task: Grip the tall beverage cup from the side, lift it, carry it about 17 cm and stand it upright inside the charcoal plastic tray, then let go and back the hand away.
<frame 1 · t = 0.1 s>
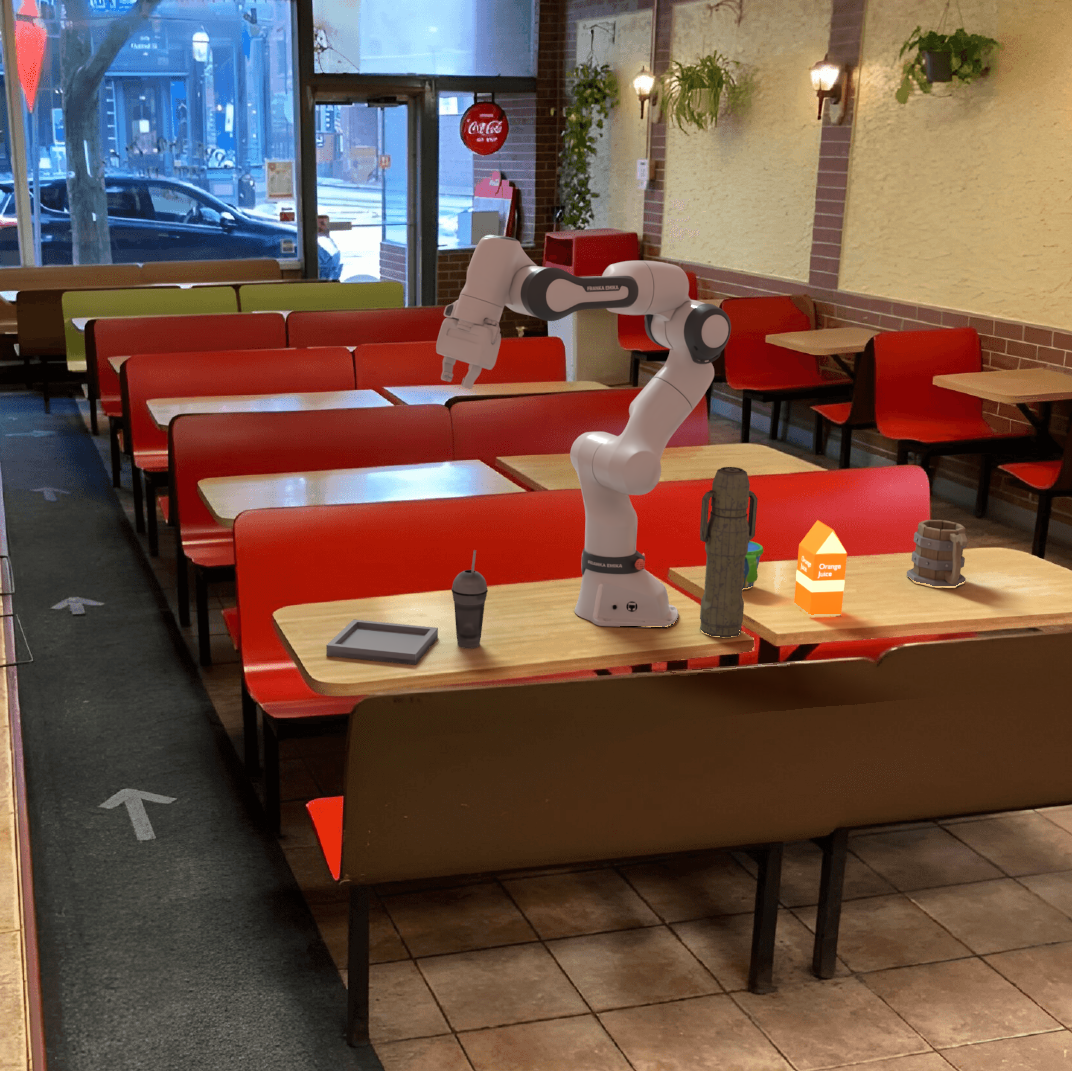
hand: (455, 384, 259), 52 cm above the table, tool tilted 20°, fingers open, 8 cm apart
beverage cup: (468, 645, 268), on the table
thermos: (720, 632, 281), on the table
orange juice: (817, 612, 296), on the table
snack cup: (736, 587, 312), on the table
tray: (383, 646, 265), on the table
tankard: (940, 586, 318), on the table
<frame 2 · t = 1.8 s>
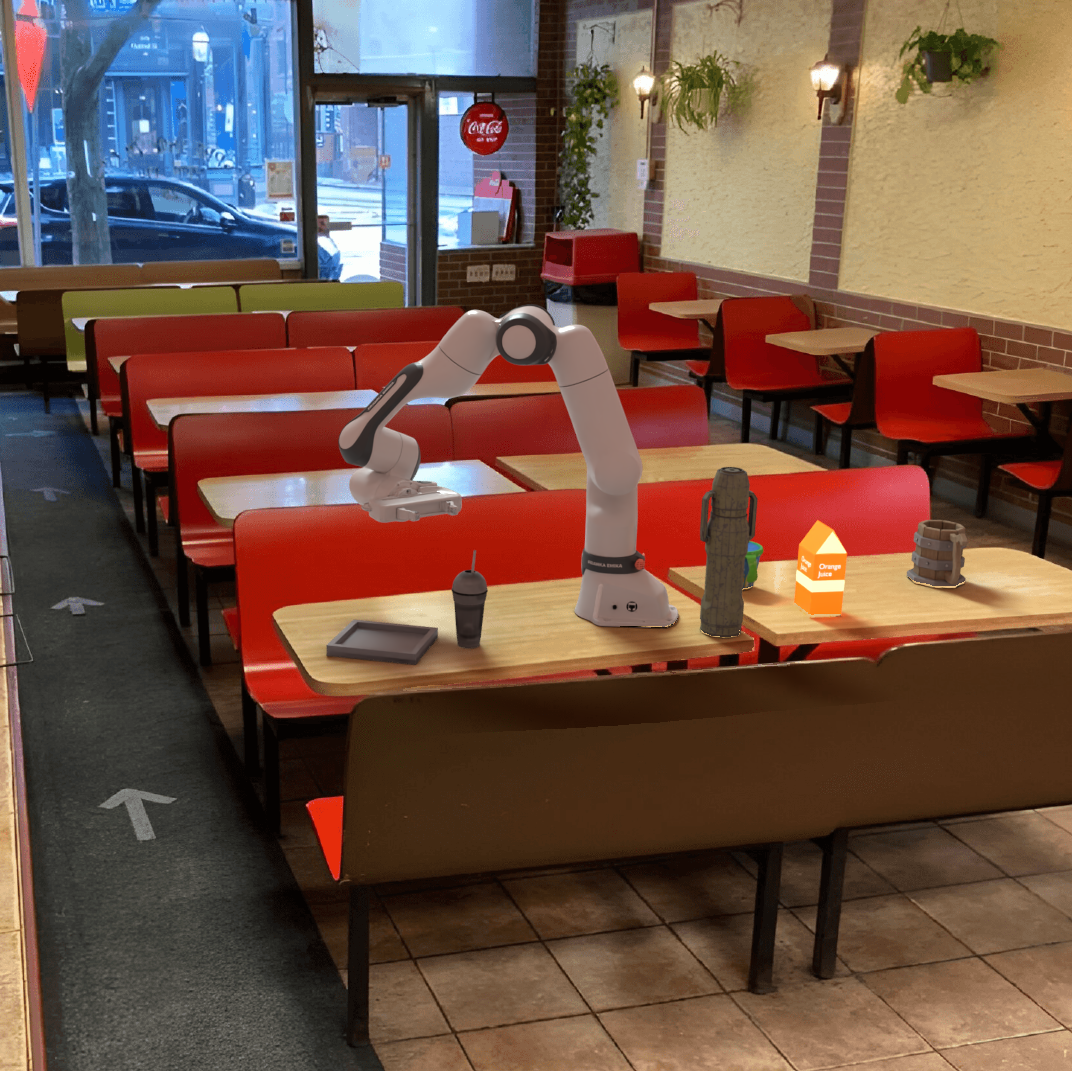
hand: (436, 514, 271), 24 cm above the table, tool horizontal, fingers open, 8 cm apart
nothing on the table moved.
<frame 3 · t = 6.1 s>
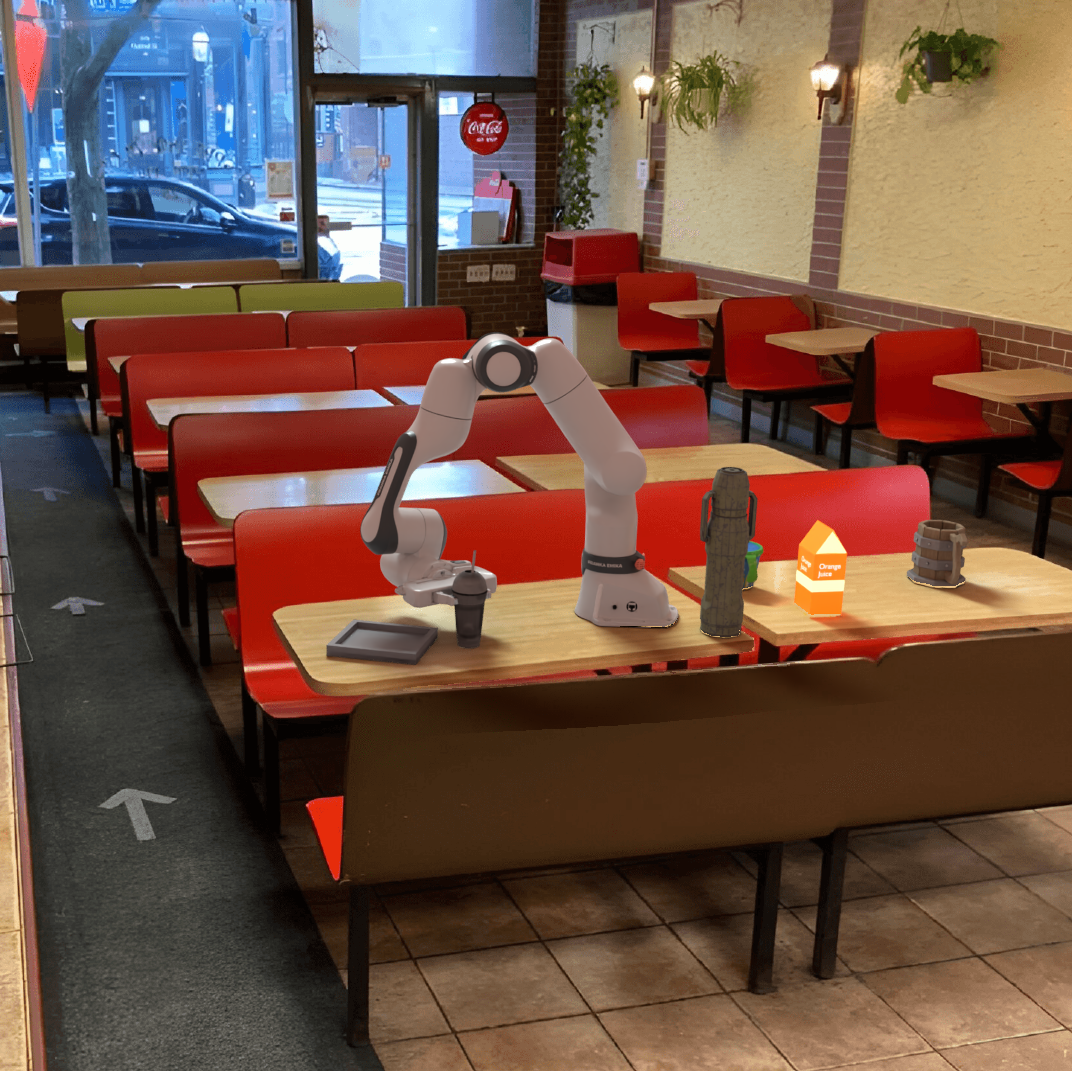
hand: (472, 598, 265), 10 cm above the table, tool horizontal, fingers closed on beverage cup, 7 cm apart
beverage cup: (468, 645, 268), on the table, touching gripper
everything else where it was.
when the fingers open (12 cm above the table, at t = 12.4 s): beverage cup drops 1 cm, resting on tray.
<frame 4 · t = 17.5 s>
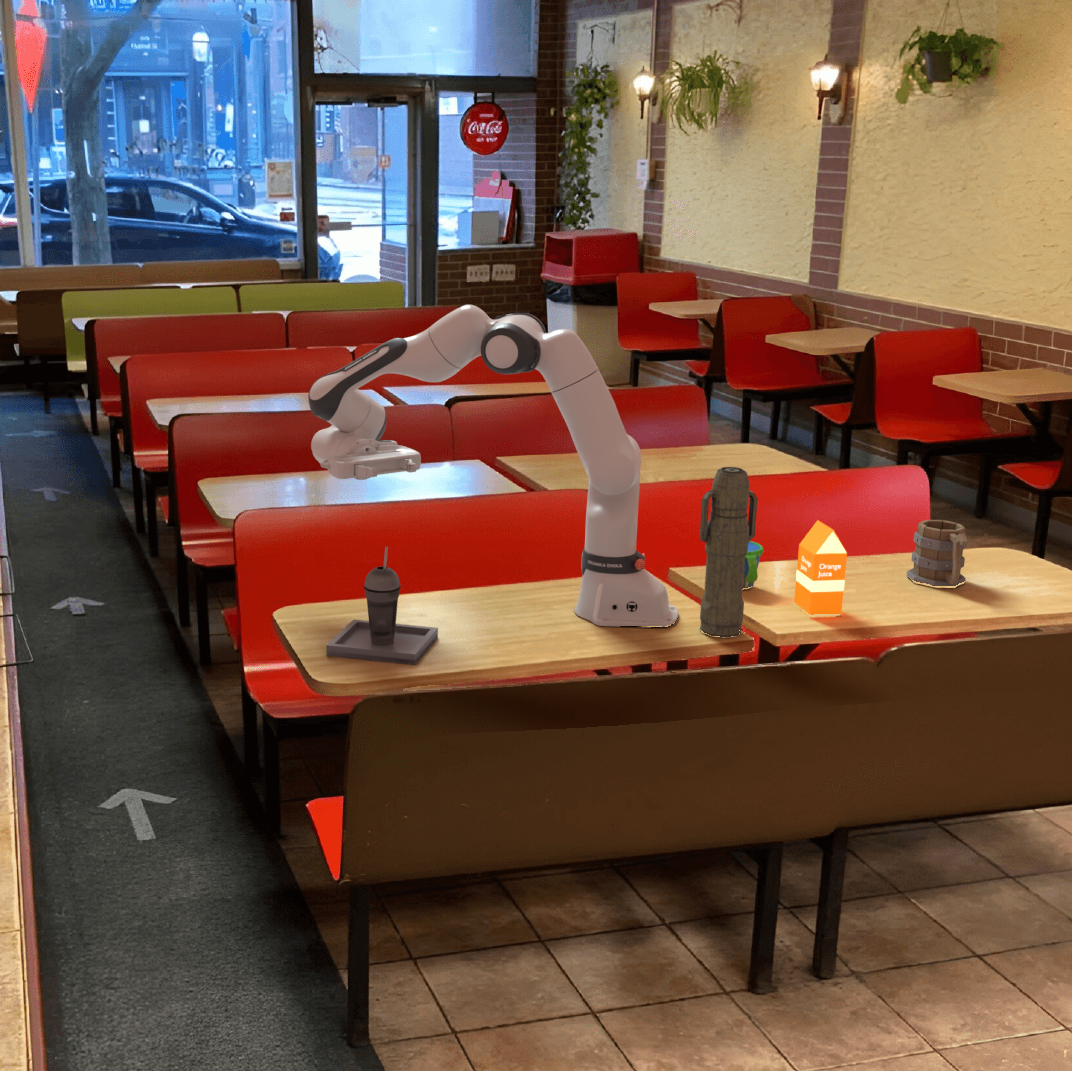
hand: (394, 470, 274), 32 cm above the table, tool horizontal, fingers open, 8 cm apart
beverage cup: (382, 642, 265), point 1 cm above the table, touching tray
everything else where it was.
at the end: beverage cup inside the target area on the tray (0.2 cm from its centre), point 0.8 cm above the tray's base; beverage cup tilted 0°; the gripper is holding nothing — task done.
